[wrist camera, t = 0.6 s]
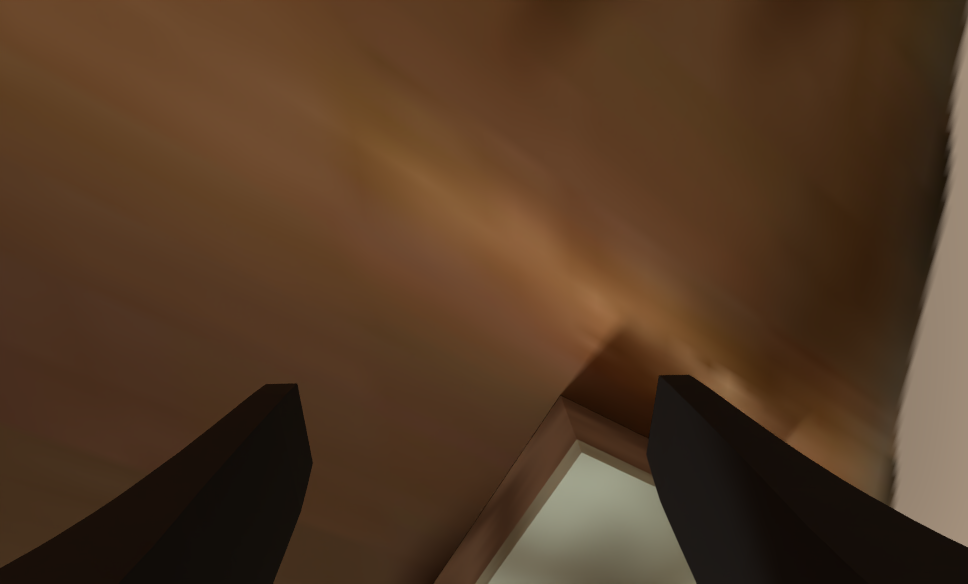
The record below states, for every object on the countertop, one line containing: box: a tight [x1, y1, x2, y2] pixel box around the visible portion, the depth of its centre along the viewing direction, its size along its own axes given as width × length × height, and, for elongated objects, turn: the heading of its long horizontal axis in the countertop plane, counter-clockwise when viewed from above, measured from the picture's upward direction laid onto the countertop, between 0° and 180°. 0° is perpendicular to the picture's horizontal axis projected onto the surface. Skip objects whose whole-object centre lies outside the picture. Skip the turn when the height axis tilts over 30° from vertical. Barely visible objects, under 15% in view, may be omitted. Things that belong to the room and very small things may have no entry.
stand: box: [434, 396, 696, 584], centre depth 23 cm, size 12×10×4 cm
